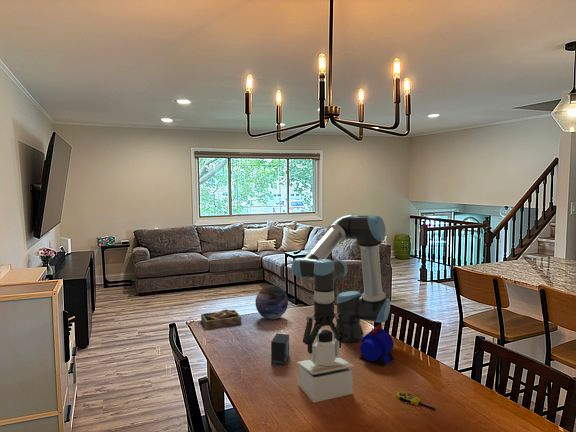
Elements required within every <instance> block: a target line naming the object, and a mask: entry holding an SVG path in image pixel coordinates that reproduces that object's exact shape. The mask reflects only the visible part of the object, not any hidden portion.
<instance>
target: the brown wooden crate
mask: <svg viewBox="0 0 576 432" xmlns="http://www.w3.org/2000/svg"><path fill="white" fill-rule="evenodd" d="M214 312H215V313H214V314H210V315H206V316H205V317H207V321H209V320H219V319H225V318H232V317H237V313H238V312H237V313H235V312H232V311H230V309H223V310H221V312H220V311H214Z"/></svg>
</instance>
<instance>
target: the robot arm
mask: <svg viewBox="0 0 576 432" xmlns="http://www.w3.org/2000/svg"><path fill="white" fill-rule="evenodd" d="M385 239H386V224H385V221H384V219H383V218H382V217H381V216H379V215H375V214H374V215H373V214H346V215H343V216H341V217H338V218H337V219H335V220H334V221H333V222H332V223H330V224H329V225H328V226H327V227H326V232H325V233H324V234H323V235H322V237H320V239H318V241H316V243H315V244H314V245H313V246H312V248H311V249H310V250H309V251H308V252H307V253H306V254H305V256H304V257H296V258H294V259H293V260H292V263H291V272H292V274H293V275H294V276H295V277H301V278H309V279H310V278H312V279H313V288H314V289H313V292H314V293H313V299H314V303H313V309H314V315H312V316H307V317H306V325H305V329H304V333H303V338H302V343H303V344H304V345H306V346H307V353H308V354H309V360H310V361H312V362H313V363H314V362H315V349H314V345H315V344H314V342H315V339H317V334H318V332H319V330H322V327H326V326H327V327H328V326H329V328H330V331H331V332H332V334H333V338H334V339H333V341H334V342H336V357H337V358H339V357H340V349H342V342H344V343H356V342H357V343H358V342H360V341H362V339H363V337H364V331H363V328H362V325H361V320H363V321H369V322H373V323H385V322H386V321H387V320H388V317H389V314H390V310H391V299H389V298H387V297H386V293H385V292H384V291H383V287H382V284H383V283H382V271H381V259H380V258H381V257H380V246H381V245H382V244H383V243H382V242H383V241H384V240H385ZM345 240H356V245H357V246H358V247H359V248H360V256H361V257H360V259H361V260H360V261H361V271H362V282H363V293H361V292H360V291H357V290H351V291H350V290H349V291H343V292H340V293H339V294H338V295H337V296H336V313H335V282H337V281H339V280H341V279H343V278H344V277H346V275H347V274H348V270H349V269H348V265H347V263H346V262H345V261H344V260H341V259H334V260H332V259H327V258H328V257H329V256H330V254H331V253H332V252H333V250H334V249H335V248H336V247H337V245H338V244H340V243H342V242H344V241H345ZM334 319H335V321H336V324H335V323H334V321H333V320H334ZM313 324H314V325H313ZM312 327H313V328H312Z"/></svg>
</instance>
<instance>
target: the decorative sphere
mask: <svg viewBox="0 0 576 432" xmlns="http://www.w3.org/2000/svg"><path fill="white" fill-rule="evenodd" d="M288 303H289V298H288V295H287V293H286V291H285V290H284V289H283V288H282V287H280V286H279V285H276V284H267V285H265V286H263V287H262V288H260V289H259V291H258V292H257V294H256V297H255V308H256V310H257V312H258V313H259V315H260V316H261V317H263V318H264V319H267V320H270V321H271V320H272V321H273V320H277V319H279V318H281V317H282V316H283V315H284V314H285V313H286V311H287V309H288V306H289V304H288Z"/></svg>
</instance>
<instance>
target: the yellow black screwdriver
mask: <svg viewBox="0 0 576 432" xmlns="http://www.w3.org/2000/svg"><path fill="white" fill-rule="evenodd" d="M395 398H396V399H398V400H399V401H401V402H403V403H405V402H407V403H406V404H408V403H410V404H409V405H412V404H413V406H423V407H425V406H426V408H428V409H430V410H434V411H436V408H435V407H432V406H429V405H427V404H425V403H423V402H421V401H422V400H421V398H419V397H417V396H416V395H414V394H412V393H408V392H403V391H398V392H396V393H395ZM418 404H419V405H418ZM420 404H421V405H420Z"/></svg>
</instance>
